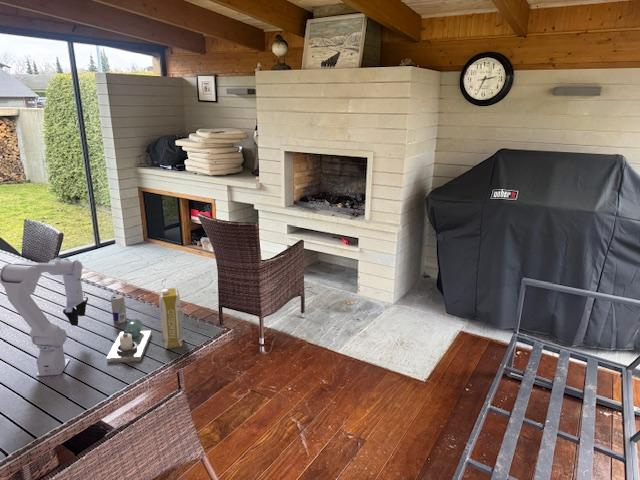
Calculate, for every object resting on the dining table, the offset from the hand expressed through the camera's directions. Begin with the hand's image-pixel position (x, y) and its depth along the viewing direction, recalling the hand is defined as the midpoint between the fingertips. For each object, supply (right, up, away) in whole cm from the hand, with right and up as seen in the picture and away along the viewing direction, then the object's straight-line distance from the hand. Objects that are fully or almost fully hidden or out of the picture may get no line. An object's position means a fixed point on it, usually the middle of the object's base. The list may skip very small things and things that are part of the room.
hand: (78, 320), depth 175 cm
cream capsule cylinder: (+21, -11, -4) cm, 24 cm away
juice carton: (+36, -11, +6) cm, 38 cm away
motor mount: (+20, -11, +1) cm, 23 cm away
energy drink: (+7, -4, +22) cm, 23 cm away
